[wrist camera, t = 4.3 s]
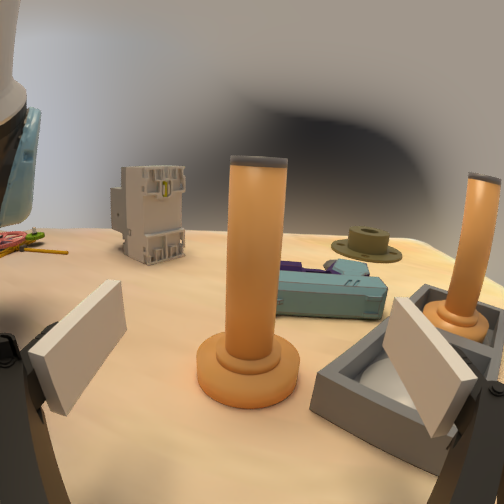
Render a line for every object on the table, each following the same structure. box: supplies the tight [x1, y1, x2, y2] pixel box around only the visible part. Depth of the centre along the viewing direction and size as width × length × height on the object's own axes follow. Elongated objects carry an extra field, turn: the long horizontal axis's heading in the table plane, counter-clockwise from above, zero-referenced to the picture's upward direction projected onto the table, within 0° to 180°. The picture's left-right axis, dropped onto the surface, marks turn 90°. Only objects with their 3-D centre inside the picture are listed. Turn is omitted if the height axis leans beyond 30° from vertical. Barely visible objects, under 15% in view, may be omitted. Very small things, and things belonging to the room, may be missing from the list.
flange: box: [331, 226, 402, 263], centre depth 61 cm, size 5×15×15 cm
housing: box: [309, 284, 504, 476], centre depth 24 cm, size 24×12×4 cm, turn 133°
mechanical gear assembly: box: [0, 227, 68, 258], centre depth 50 cm, size 30×4×15 cm
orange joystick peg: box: [196, 156, 300, 409], centre depth 22 cm, size 8×8×17 cm
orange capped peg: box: [423, 172, 501, 344], centre depth 25 cm, size 8×8×17 cm
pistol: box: [276, 259, 388, 319], centre depth 40 cm, size 4×16×15 cm
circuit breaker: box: [110, 166, 186, 266], centre depth 52 cm, size 8×14×15 cm, turn 51°
